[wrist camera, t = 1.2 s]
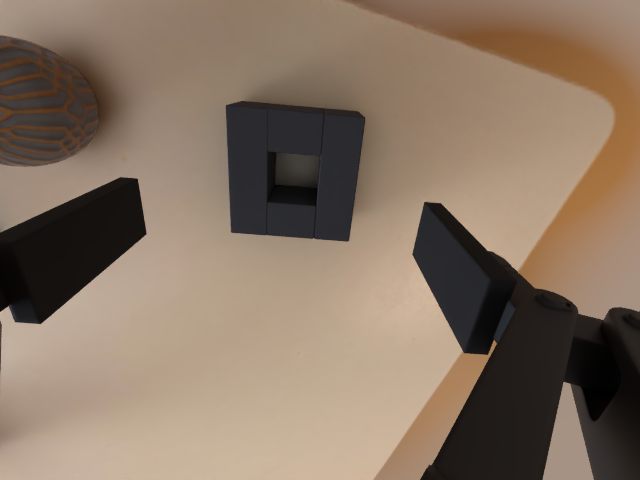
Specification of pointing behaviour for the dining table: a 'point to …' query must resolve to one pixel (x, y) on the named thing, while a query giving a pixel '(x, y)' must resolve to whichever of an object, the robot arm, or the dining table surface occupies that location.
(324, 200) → the dark grey square frame
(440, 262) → the robot arm
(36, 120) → the vase
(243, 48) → the dining table surface
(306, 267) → the dining table surface
